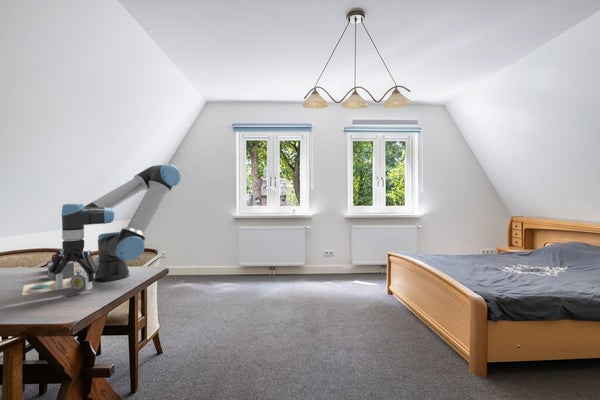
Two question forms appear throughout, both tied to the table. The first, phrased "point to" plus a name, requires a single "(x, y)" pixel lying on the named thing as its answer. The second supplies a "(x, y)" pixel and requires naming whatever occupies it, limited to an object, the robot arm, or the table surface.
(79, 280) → the pocket watch
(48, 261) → the wooden carving
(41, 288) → the board
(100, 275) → the robot arm
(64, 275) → the block
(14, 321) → the table surface
